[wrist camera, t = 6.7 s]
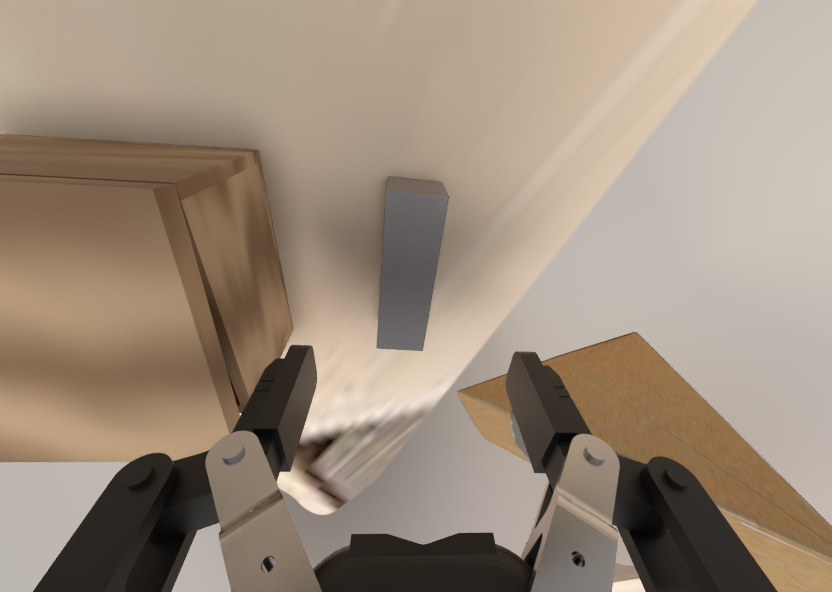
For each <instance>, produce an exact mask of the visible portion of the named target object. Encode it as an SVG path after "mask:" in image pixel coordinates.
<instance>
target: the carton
mask: <svg viewBox="0 0 832 592" xmlns="http://www.w3.org/2000/svg"><path fill="white" fill-rule="evenodd" d="M0 175H14V176H32V177H50V178H69V179H87V180H105V181H124V182H142V183H160V184H175V187H176V190H177V194H178V197H179V201H180V204H181V208H182V212H183V215H184V219H185V222H186V226H187V229H188V233H189V236H190V240H191V244H192V247H193V251H194V254H195V258H196V261H197V265H198V269H199V272H200V276H201V279H202V283H203V286H204V290H205V293H206V297H207V301H208V304H209V308H210V311H211V315H212V318H213V322H214V326H215V329H216V333H217V336H218V340H219V343H220V347H221V350H222V354H223V358H224V361H225V365H226V368H227V372H228V375H229V379H230V383H231V386H232V390H233V393H234V397H235V400H236V404H237V407H238V411H239V413H242V412H243V410H244V408H245V406H246V404H247V402H248V400H249V399H250V397H251V395H252V393H253V392H254V389H255V387H256V385H257V383H258V382H259V379H260V377H261V375H262V373H263V371H264V369H265V368H266V367H267V366H268V365H269V364H270V363H271V362H273V361H274V360H275V359H276V358H281V355H282V353H283V351H284V349H285V347H286V344H287V342H288V340H289V338H290V336H291V334H292V331H293V327H292V322H291V317H290V312H289V307H288V302H287V296H286V291H285V286H284V281H283V276H282V271H281V266H280V261H279V256H278V251H277V246H276V241H275V235H274V230H273V225H272V220H271V215H270V210H269V205H268V200H267V195H266V190H265V185H264V179H263V174H262V169H261V164H260V159H259V154H258V150H247V149H231V148H215V147H199V146H183V145H167V144H151V143H135V142H119V141H103V140H87V139H71V138H55V137H39V136H24V135H8V134H5V135H0Z"/></svg>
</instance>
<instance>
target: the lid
mask: <svg viewBox="0 0 832 592" xmlns="http://www.w3.org/2000/svg"><path fill="white" fill-rule="evenodd" d="M239 418H240V415H239V411H238V407H237V404H236V400H235V397H234V393H233V390H232V386H231V383H230V379H229V375H228V372H227V368H226V365H225V361H224V358H223V354H222V350H221V347H220V343H219V340H218V336H217V333H216V329H215V326H214V322H213V318H212V315H211V311H210V308H209V304H208V301H207V297H206V293H205V290H204V286H203V283H202V279H201V276H200V272H199V269H198V265H197V261H196V258H195V254H194V251H193V247H192V244H191V240H190V236H189V233H188V229H187V226H186V222H185V219H184V215H183V212H182V208H181V204H180V201H179V197H178V194H177V190H176V187H175V184H160V183H142V182H124V181H105V180H87V179H69V178H50V177H32V176H14V175H0V462H132V461H133V460H135V459H137V458H139V457H141V456H144V455H147V454H151V453H164V454H166V455H168V456H169V457H170V458H171V459H172V461H175V460H178V459H182V458H185V457H189V456H192V455H196V454H200V453H203V452H206V451H208V450H210V449H211V448H212V446H213V445H214V444H215V443H216V442H217V441H219V440H220V439H221V438H223V437H224V436H226V435H228V434H230V433H231V432H232V431H233V429H234V428H235V426H236V424H237V422H238V420H239Z"/></svg>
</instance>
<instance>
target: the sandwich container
mask: <svg viewBox="0 0 832 592" xmlns="http://www.w3.org/2000/svg"><path fill="white" fill-rule="evenodd" d="M541 363H542V365H549V366H550V367H551V368H552V369H553V370H554V371H555V372H556V373H557V374H558V375H559V376H560V378H561V380H562V381H563V383H564V385H565V389H567V390H568V392H569V394H570V397H571V398H572V399H573V401H574V403H575V405H576V407H577V408H578V410H579V412H580V414H581V416H582V417H583V419H584V421H585V423H586V424H587V426H588V428H589V430H590V432H591V433H592V435H593V436H595V437H598V438H599V439H601V440H603V441H604V442H605V443H607V444H608V445H609V446H610V447H611V448H612V449H613V451H614V452H615V453H616V454H617V455H619V456H622V457H625V458H628V459H632V460H635V461H638V462H642V463H645V464H647V463H648V462H649V461H650V459H651V458H653V457H657V456H661V457H666V458H670V459H672V460H674V461H676V462H678V463H680V464H681V465H683V466H684V467H686V468H687V469H688V470H689V471H690V472H691V473H692V474H693V475H694V476H695V477H696V478H697V479H698V481H699V482H700V483H701V485H702V486H703V488H704V489H705V490H706V492H707V493H708V495H709V496H710V497H711V499H712V500H713V502H714V503H715V504H716V506H717V507H718V509H719V510H720V511H721V513H722V514H723V516H724V517H725V518H726V520H727V521H728V523H729V524H730V525H731V527H732V528H733V530H734V531H735V532H736V534H737V535H738V537H739V538H740V539H741V541H742V542H743V544H744V545H745V546H746V548H747V549H748V551H749V552H750V553H751V555H752V556H753V558H754V559H755V560H756V562H757V563H758V565H759V566H760V567H761V569H762V570H763V572H764V573H765V574H766V576H767V577H768V579H769V580H770V582H771V583H772V584H773V586H774V587H775V589H776V590H777V591H778V592H832V526H831V525H830V524H829V523H828V522H827V521H826V520H825V519H824V518H823V517H822V516H821V515H820V514H819V513H818V512H817V511H816V510H815V509H814V508H813V507H812V506H811V505H810V504H809V503H808V502H807V501H806V500H805V499H804V498H803V497H802V496H801V495H800V494H799V493H798V492H797V491H796V490H795V489H794V488H793V487H792V486H791V485H790V484H789V483H788V482H787V481H786V480H785V479H784V478H783V477H782V476H781V475H780V474H779V473H778V472H777V471H776V470H775V469H774V468H773V467H772V466H771V465H770V464H769V463H768V462H767V461H766V460H765V459H764V458H763V457H762V456H761V455H760V454H759V453H758V452H757V451H756V450H755V449H754V448H753V447H752V446H751V445H750V444H749V443H748V442H747V441H746V440H745V439H744V438H743V437H742V436H741V435H740V434H739V433H738V432H737V431H736V430H735V429H734V428H733V427H732V426H731V425H729V423H728V422H727V421H725V420H724V419H723V417H722V416H721V415H720V414H718V412H717V411H716V410H715V409H714V408H713V407H712V406H711V405H710V404H709V403H708V402H707V401H706V400H704V398H702V397H701V395H700V394H699V393H698V392H696V390H694V389H693V388H692V386H691V385H690V384H689V383H687V382H686V381H685V380H684V379H683V378H682V377H681V376H680V375H679V374H678V373H677V372H676V371H675V370H674V369H673V368H672V367H671V366H670V365H669V364H668V363H667V362H666V361H665V360H664V359H663V358H662V357H661V356H660V355H659V354H658V353H657V352H656V351H655V350H654V349H653V348H652V347H651V346H650V345H649V344H648V343H647V342H646V341H645V340H644V339H643V338H642V337H641V336H640V335H639V334H638V333H637V332H632V333H629V334H625V335H622V336H619V337H616V338H613V339H609V340H607V341H603V342H600V343H597V344H593V345H590V346H587V347H584V348H581V349H577V350H574V351H571V352H568V353H565V354H562V355H558V356H556V357H553V358H550V359H547V360H544V361H541ZM507 374H508V373H507ZM507 374H504V375H501V376H498V377H496V378H493V379H490V380H487V381H484V382H482V383H479V384H475V385H472V386H470V387H467V388H464V389H461V390H458V391H456V392H457V394H458V396H459V398H460V400H461V402H462V404H463V406H464V408H465V410H466V411H467V413H468V415H469V417H470V419H471V420H472V422H473V423H474V425H475V426H476V427H477V429H478V430H479V432H480V433H481V435H482V436H483V437H484V438H485V439H486V440H488V441H490V442H492V443H494V444H496V445H498V446H499V447H501V448H503V449H505V450H507V451H509V452H511V453H513V454H515V455H517V456H518V457H520V458H522V459H524V460H526V461H528V462H529V463H531V461H530V458H529V455H528V453H527V450H526V447H525V444H524V441H523V438H522V435H521V432H520V430H519V427H518V424H517V421H516V418H515V415H514V412H513V409H512V407H511V404H510V401H509V398H508V395H507V392H506V377H507Z"/></svg>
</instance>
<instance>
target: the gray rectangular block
mask: <svg viewBox="0 0 832 592" xmlns="http://www.w3.org/2000/svg"><path fill="white" fill-rule="evenodd" d="M448 198H449V196H448V194H447V192H446V190H445V188H444V186H443V183H442V182H434V181H425V180H416V179H407V178H398V177H389V176H388V181H387V187H386V199H385V216H384V233H383V250H382V267H381V283H380V300H379V317H378V334H377V348H379V349H397V350H415V351H423V346H424V341H425V335H426V329H427V323H428V317H429V311H430V305H431V299H432V293H433V287H434V281H435V275H436V269H437V263H438V258H439V252H440V246H441V240H442V234H443V228H444V222H445V216H446V210H447V204H448Z"/></svg>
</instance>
